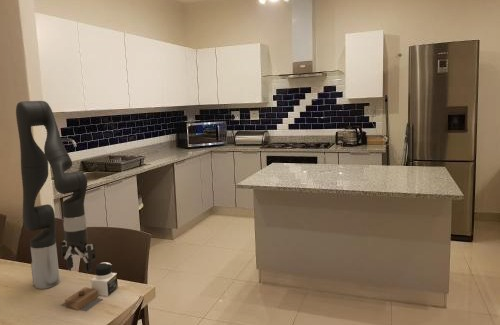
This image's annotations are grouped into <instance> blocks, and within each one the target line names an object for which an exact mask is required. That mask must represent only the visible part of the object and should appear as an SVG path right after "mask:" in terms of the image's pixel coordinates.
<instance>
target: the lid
mask: <svg viewBox="0 0 500 325" xmlns="http://www.w3.org/2000/svg"><path fill="white" fill-rule="evenodd" d="M96 298H99V295H98V290H96V289H92V287H87V286H86V287H83V288H81V289H79V290H78V291H77V292H75V293H73V294H72V295H70V296H69V297H67V298H65V299H64V303H65V306H66V307H65V306H64V307H65V308H67V309H71V310H75V311H81V310H80V309H81V308H83V307H84V306H86V305H87V304H89V303H90V302H92V301H93V300H95V299H96Z"/></svg>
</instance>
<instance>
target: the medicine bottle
mask: <svg viewBox="0 0 500 325" xmlns="http://www.w3.org/2000/svg"><path fill="white" fill-rule="evenodd" d="M112 265H113V264H111V263H110V262H100V263H97V264H96V265H95V267H94V271H95V276H94V277H93V278H91V279H90V283H91V289H96V290H98V296H103V297H109V296H110V295H112V294H113V293H114V292H115V291H116V290H117V289H118V288H119V287H118V273H117V272H113V268H112Z"/></svg>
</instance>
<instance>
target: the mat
mask: <svg viewBox="0 0 500 325" xmlns="http://www.w3.org/2000/svg"><path fill="white" fill-rule="evenodd" d="M103 300H104V298H99V297H98V298H96V299H95V300H93V301H92V302H90V303H89V304H87V305H86V306H84V307H83V308H81V309H80V310H79V311H82V312H88V311H89V310H90V309H92V308H93V307H95V306H96V305H97V304H99V303H101V302H102V301H103ZM60 306H62V307H65V308H66V306H65V302H63V303H61V304H60Z"/></svg>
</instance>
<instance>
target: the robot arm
mask: <svg viewBox="0 0 500 325" xmlns="http://www.w3.org/2000/svg"><path fill="white" fill-rule="evenodd" d="M15 107H16V108H15V117H16V124H17V131H18V137H19V138H18V139H19V148H20V172H21V174H20V175H21V180H22V181H21V182H22V183H21V184H22V224H23V227H24V229H25V230H26V231H28V232H33V231H37V230H41V231H39V233H37V234H36V235H34V236H33V237H31V239H30V240H29V244H30V254H31V255H30V256H31V263H30V268H31V276H32V284H33V286H34V287H35V288H36V289H38V290H40V289H41V290H44V289H50V288H52V287H55V286H57V285H58V284H60V280H61V279H60V270H59V269H60V268H59V261H58V260H59V259H58V249H57V240H56V236H57V235H56V234H57V233H56V215H55V210H54V207H53V206H52V205H51V204H48V203H47V204H41V205H38V206H35V205H36V200H37V197H38V195H39V193H40V191H41V190H42V188H43V187H44V185H45V183H46V182H47V180H48V177H49V166H50V167H51V172H52V176H53V182H54V183H53V185H54V188H55V190H56V192H57V193H60V194H62V195H68V194H72V195H71V196H70V197H68V198H66V199H65V200H64V201H62V215H63V224H62V226H63V234H64V240H62V241H60V242H59V250H60V257H61V258H64V260H65V266H66V269H68V270H71V269H72V268H74V260H73V255H76V256H79V257H80V259H82V260H83V261H84V270H85V273H89V272H91V271H92V270H93V264H92V262H93V261H95V260H96V259H97V256H96V255H97V254H96V248H95V244H94V243H90V244H88V243H87V242H88V241H87V240H88V227H87V218H86V213H85V199H86V193H87V190H88V189H87V188H88V179H87V178H88V177H87V176H86V175H85V173H84V172H82V171H79V170H78V171H72V172H66V171H68V170H70V169H71V168H72V166H73V161H72V159H71V157H70V154H69V153H68V150H67V149H66V147H65V145H64V143H63V141H62V137H61V134H60V131H59V128H58V125H57V122H56V118H55V116H54V112H53V110H52V108H51V106H50V104H49V103H48V102H46V101H44V100H26V101H25V100H23V101H19V102H18V103H17V104H16V106H15ZM40 126H41V127H42V126H43V127H44V128H45V129H46V139H45V143H44V148H43V149H44V150H43V149H41V147H40V146H39V145H38V143H37V141H35V138H34V137H33V136H34V135H33V134H32V133H33V132H32V127H40ZM65 172H66V173H65Z"/></svg>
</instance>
